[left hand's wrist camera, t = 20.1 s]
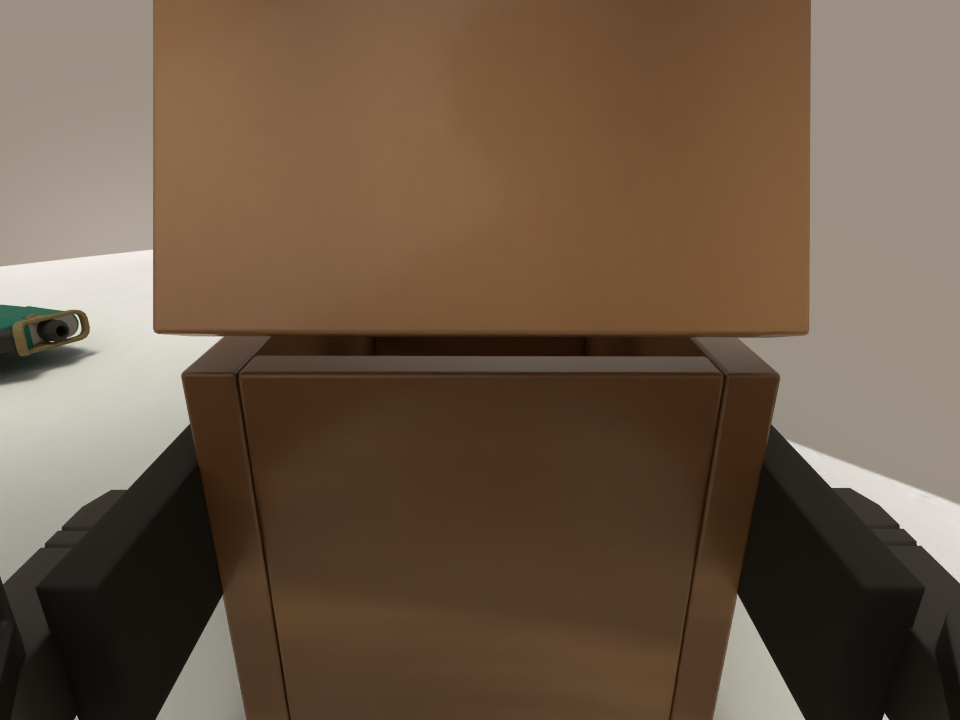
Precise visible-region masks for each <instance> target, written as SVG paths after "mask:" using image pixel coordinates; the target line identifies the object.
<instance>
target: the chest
mask: <svg viewBox="0 0 960 720" xmlns="http://www.w3.org/2000/svg"><path fill="white" fill-rule="evenodd" d="M181 378H182V383H183V388H184V393H185V399H186V404H187V409H188V414H189V420H190V425H191V430H192V436H193V441H194V446H195V451H196V457H197V462H198V467H199V472H200V478H201V483H202V488H203V493H204V499H205V504H206V509H207V514H208V520H209V525H210V530H211V535H212V541H213V546H214V551H215V556H216V561H217V567H218V572H219V577H220V582H221V587H222V592H223V599H224V604H225V609H226V614H227V620H228V625H229V630H230V636H231V641H232V646H233V651H234V657H235V662H236V667H237V672H238V678H239V683H240V688H241V693H242V699H243V704H244V709H245V714H246V720H713V715H714V710H715V705H716V700H717V695H718V690H719V685H720V680H721V675H722V670H723V665H724V660H725V655H726V650H727V645H728V639H729V634H730V629H731V624H732V619H733V614H734V609H735V604H736V599H737V593H738V588H739V583H740V578H741V573H742V568H743V562H744V557H745V552H746V547H747V542H748V537H749V532H750V526H751V521H752V516H753V511H754V506H755V501H756V496H757V490H758V485H759V480H760V475H761V470H762V465H763V462H764V457H765V452H766V447H767V442H768V437H769V432H770V427H771V421H772V417H773V412H774V406H775V401H776V396H777V391H778V386H779V381H780V376H779V374H778V373H777V372H776V371H775V370H774V369H773V368H771V367H770V366H769V365H768V364H767V363H766V362H764V361H763V360H762V359H761V358H760V357H759V356H757V355H756V354H755V353H754V352H753V351H752V350H751V349H749V348H748V347H747V346H746V345H745V344H743V343H742V342H741V341H740V340H739V339H738V338H737V337H320V336H224V337H223V338H222V339H221V340H219V341H218V342H217V343H216V344H215V345H214V346H213V347H211V348H210V349H209V350H208V351H207V352H206V353H204V354H203V355H202V356H201V357H200V358H199V359H198V360H196V361H195V362H194V363H193V364H192V365H191V366H190V367H188V368H187V369H186V370H185V371H184V372H183V373H182V375H181Z"/></svg>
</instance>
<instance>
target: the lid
mask: <svg viewBox="0 0 960 720" xmlns="http://www.w3.org/2000/svg"><path fill="white" fill-rule="evenodd" d="M810 43H811V0H153V329H154V332H155V333H158V334H168V335H182V336H320V337H752V338H753V337H754V338H756V337H757V338H759V337H760V338H763V337H764V338H771V337H786V336H801V335H806V334H808V332H809V245H810V244H809V241H810V45H811V44H810Z"/></svg>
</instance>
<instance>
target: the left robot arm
mask: <svg viewBox="0 0 960 720" xmlns="http://www.w3.org/2000/svg"><path fill="white" fill-rule="evenodd" d="M737 594H738V596H739V597H740V599H741V601H742V603H743V605H744V607H745V609H746V610H747V612H748V614H749V616H750V618H751V620H752V622H753V623H754V625H755V627H756V629H757V631H758V633H759V635H760V636H761V638H762V640H763V642H764V644H765V646H766V648H767V649H768V651H769V653H770V655H771V657H772V659H773V661H774V662H775V664H776V666H777V668H778V670H779V672H780V674H781V675H782V677H783V679H784V681H785V683H786V685H787V686H788V688H789V690H790V692H791V694H792V696H793V698H794V699H795V701H796V703H797V705H798V707H799V709H800V711H801V712H802V714H803V716H804V718H805V720H882V719H883V716H884V713H885V714H886V716H887V717H888V719H889V720H960V583H959V582H958V581H957V580H955V579H954V578H953V577H952V576H951V575H950V574H949V573H948V572H947V571H946V570H945V569H944V568H943V567H942V566H941V565H940V564H939V563H938V562H937V561H936V560H935V559H934V558H933V557H932V556H931V555H930V554H929V553H928V552H927V551H926V550H925V549H924V548H923V547H922V546H917V544H916V541H915V540H914V539H913V538H912V537H911V536H910V535H909V534H908V533H907V532H906V531H905V530H904V529H900V527H899V524H898V523H897V522H896V521H895V520H894V519H893V518H892V517H891V516H890V515H889V514H888V513H887V512H886V511H885V510H884V509H883V508H882V507H881V506H879V505H878V504H876V503H875V502H873V501H871V500H869V499H868V498H866V497H864V496H863V495H861V494H859V493H857V492H856V491H854V490H852V489H851V488H831V487H830V486H829V485H828V484H827V483H826V482H825V481H824V480H823V479H822V478H821V476H820V475H819V474H818V473H817V472H816V471H815V470H814V469H813V468H812V467H811V466H810V465H809V464H808V463H807V462H806V461H805V460H804V458H803V457H802V456H801V455H800V454H799V453H798V452H797V451H796V450H795V449H794V448H793V447H792V446H791V445H790V444H789V443H788V442H787V441H786V439H785V438H784V437H783V436H782V435H781V434H780V433H779V432H778V431H777V430H776V429H775V428H774V427H773V426H772V425H771V427H770V432H769V437H768V442H767V447H766V452H765V457H764V462H763V465H762V470H761V475H760V480H759V485H758V490H757V496H756V501H755V506H754V511H753V516H752V521H751V526H750V532H749V537H748V542H747V547H746V552H745V557H744V562H743V568H742V573H741V578H740V583H739V588H738V593H737ZM222 595H223V592H222V587H221V582H220V577H219V572H218V567H217V561H216V556H215V551H214V546H213V541H212V535H211V530H210V525H209V520H208V514H207V509H206V504H205V499H204V493H203V488H202V483H201V478H200V472H199V467H198V462H197V457H196V451H195V446H194V441H193V436H192V430H191V425H190V424H189V425H188V426H187V428H186V429H185V430H184V431H183V432H182V433H181V434H180V435H179V436H178V437H177V438H176V439H175V440H174V441H173V442H172V443H171V444H170V445H169V447H168V448H167V449H166V450H165V451H164V452H163V453H162V454H161V455H160V456H159V457H158V458H157V459H156V460H155V461H154V462H153V463H152V465H151V466H150V467H149V468H148V469H147V470H146V471H145V472H144V473H143V474H142V475H141V476H140V477H139V478H138V479H137V480H136V481H135V482H134V484H133V485H132V486H131V487H130V488H129V489H128V490H110V491H109V492H107V493H105V494H104V495H102V496H100V497H99V498H97V499H95V500H93V501H92V502H90V503H88V504H87V505H85V506H83V507H82V508H81V509H80V510H79V511H78V512H77V513H76V514H75V515H74V516H73V517H72V518H71V519H70V520H69V521H68V522H67V523H66V524H65V525H63V526H62V531H57V532H56V533H55V534H54V535H53V536H52V537H51V538H50V539H49V540H48V541H47V542H46V543H45V547H44V548H40V549H39V550H38V551H37V552H36V553H35V554H34V555H33V556H32V557H31V558H30V559H29V560H28V561H27V562H26V563H25V564H24V565H23V566H22V567H21V568H20V569H19V570H18V571H17V572H16V573H15V574H14V575H12V576H11V577H10V578H9V579H8V580H7V581H6V582H5V583H4V584H2V581H1V578H0V720H74V718H75V717H76V715H77V716H78V719H79V720H155V719H156V717H157V716H158V714H159V712H160V710H161V708H162V706H163V704H164V703H165V701H166V699H167V697H168V695H169V693H170V691H171V690H172V688H173V686H174V684H175V682H176V680H177V678H178V677H179V675H180V673H181V671H182V669H183V667H184V665H185V664H186V662H187V660H188V658H189V656H190V654H191V652H192V651H193V649H194V647H195V645H196V643H197V641H198V639H199V638H200V636H201V634H202V632H203V630H204V628H205V626H206V625H207V623H208V621H209V619H210V617H211V615H212V613H213V612H214V610H215V608H216V606H217V604H218V602H219V600H220V599H221V597H222Z"/></svg>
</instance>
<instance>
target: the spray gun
mask: <svg viewBox="0 0 960 720" xmlns="http://www.w3.org/2000/svg"><path fill="white" fill-rule="evenodd" d="M74 314H77V315H78V317H79V319H80V323H81V327H82V331H81V333H80V334H79V335H78V336H75V337H72V338H68V339H66V338H67V337H70V336H72V335H74V334H75V333H76V331H77V329H78V319H77V317H76V316H75V315H74ZM89 330H90V327H89V322H88V318H87V316H86V314H85V313H84V312H82V311H80V310H68V311H59V310H51V309H44V308H37V307H30V306H28V307H20V306H9V305H0V354H3V353H13V352H16V351H17V352H18V353H19V355H20V356H28V355H31V353H35V352H39V351H42V350H46V349H50V348H53V347H57V346H61V345H65V344H68V343H72V342H76V341H79V340H82V339H84V338H86V337H87V336H88V334H89ZM49 341H54V342H49Z"/></svg>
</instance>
